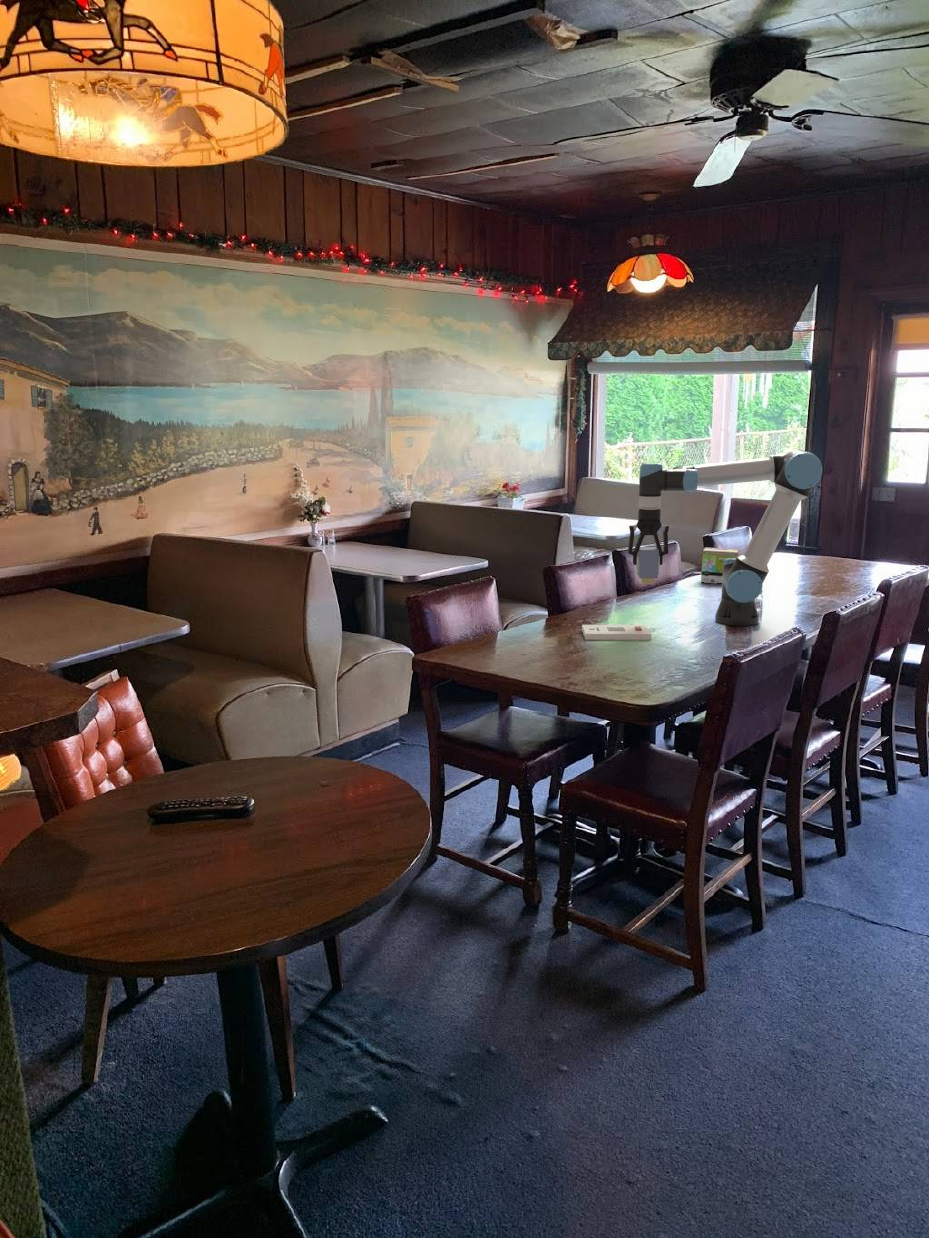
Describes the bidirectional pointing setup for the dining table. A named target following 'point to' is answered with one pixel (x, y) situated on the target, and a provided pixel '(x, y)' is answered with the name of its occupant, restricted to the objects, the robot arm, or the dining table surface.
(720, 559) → the tea box
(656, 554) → the plug
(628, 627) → the socket plate
